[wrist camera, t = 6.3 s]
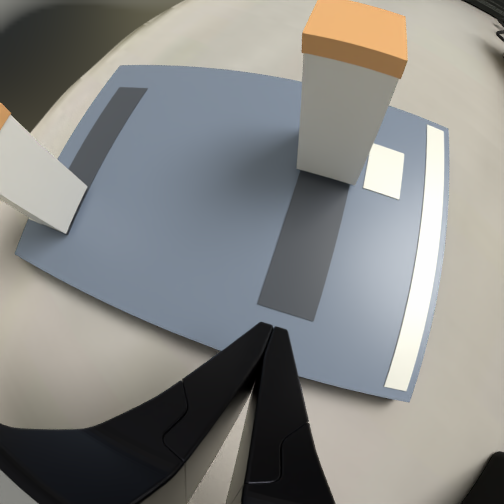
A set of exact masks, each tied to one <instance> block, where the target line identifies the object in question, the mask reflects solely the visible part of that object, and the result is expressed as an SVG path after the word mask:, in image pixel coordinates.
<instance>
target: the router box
mask: <svg viewBox="0 0 504 504" xmlns="http://www.w3.org/2000/svg"><path fill="white" fill-rule="evenodd" d="M464 1H467V2H469V3H471V4H473V5H475V6H477V7H478V8H480V9H482V10H484V11H486V12H487V13H489V14H491V15H493V16H494V17H496V18H504V0H464ZM503 22H504V21H503Z"/></svg>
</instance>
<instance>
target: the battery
mask: <svg viewBox="0 0 504 504" xmlns="http://www.w3.org/2000/svg"><path fill="white" fill-rule="evenodd" d="M462 504H504V452H500V451H499V452H496V453H495V454H494V455H493V457H492V458H491V460H490V462H489V463H488V465H487V467H486V468H485V470H484V472H483V473H482V475H481V476H480V478H479V479H478V481H477V482H476V484H475V485H474V487H473V488H472V490H471V491H470V493H469V494H468V495H467V497H466V498H465V500H464V501H463V502H462Z"/></svg>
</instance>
